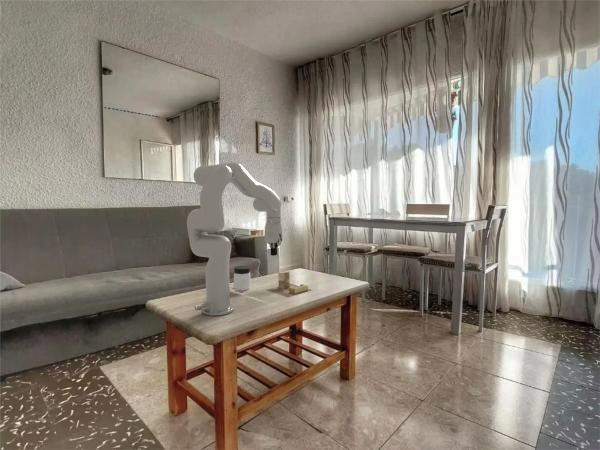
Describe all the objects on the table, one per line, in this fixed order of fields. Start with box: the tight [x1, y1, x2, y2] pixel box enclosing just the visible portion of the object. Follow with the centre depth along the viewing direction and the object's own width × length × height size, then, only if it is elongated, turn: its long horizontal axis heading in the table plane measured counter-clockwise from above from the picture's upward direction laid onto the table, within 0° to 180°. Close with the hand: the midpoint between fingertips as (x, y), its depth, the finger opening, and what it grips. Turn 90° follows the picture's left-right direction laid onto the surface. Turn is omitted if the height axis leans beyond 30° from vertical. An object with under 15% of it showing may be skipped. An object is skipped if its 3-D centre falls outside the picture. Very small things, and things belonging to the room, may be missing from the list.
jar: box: [233, 265, 252, 294], centre depth 158 cm, size 9×8×12 cm
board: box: [265, 283, 313, 298], centre depth 155 cm, size 17×17×1 cm
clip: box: [289, 283, 309, 294], centre depth 152 cm, size 9×4×2 cm, turn 134°
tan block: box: [278, 270, 291, 289], centre depth 160 cm, size 4×4×8 cm
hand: (273, 255), depth 165 cm, fingers closed
